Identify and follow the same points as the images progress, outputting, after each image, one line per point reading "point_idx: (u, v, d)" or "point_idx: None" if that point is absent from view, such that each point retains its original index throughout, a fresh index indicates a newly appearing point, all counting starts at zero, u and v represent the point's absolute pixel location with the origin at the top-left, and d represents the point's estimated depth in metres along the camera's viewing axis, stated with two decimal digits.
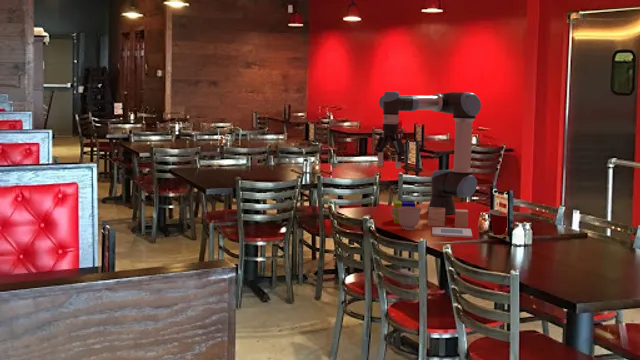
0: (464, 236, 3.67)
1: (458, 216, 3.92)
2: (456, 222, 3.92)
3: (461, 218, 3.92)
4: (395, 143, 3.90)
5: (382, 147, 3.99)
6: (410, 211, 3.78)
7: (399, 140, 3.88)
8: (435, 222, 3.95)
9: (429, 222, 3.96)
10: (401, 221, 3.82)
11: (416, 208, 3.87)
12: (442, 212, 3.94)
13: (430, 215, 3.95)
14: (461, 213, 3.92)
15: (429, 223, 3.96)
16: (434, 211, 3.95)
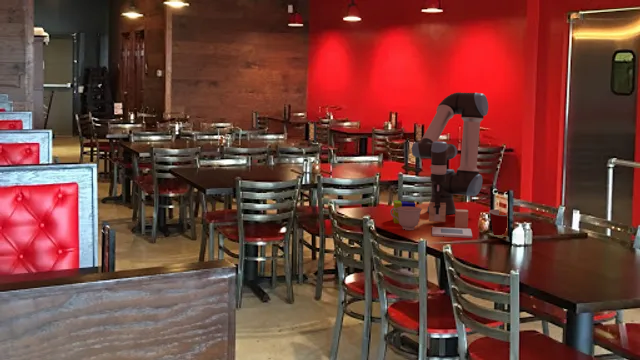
0: (464, 236, 3.67)
1: (458, 216, 3.92)
2: (456, 222, 3.92)
3: (461, 218, 3.92)
4: None
5: None
6: (410, 211, 3.78)
7: (437, 193, 3.91)
8: None
9: (430, 217, 3.96)
10: (401, 221, 3.82)
11: (416, 208, 3.87)
12: (443, 207, 3.94)
13: (431, 210, 3.95)
14: (461, 213, 3.91)
15: (430, 218, 3.96)
16: None
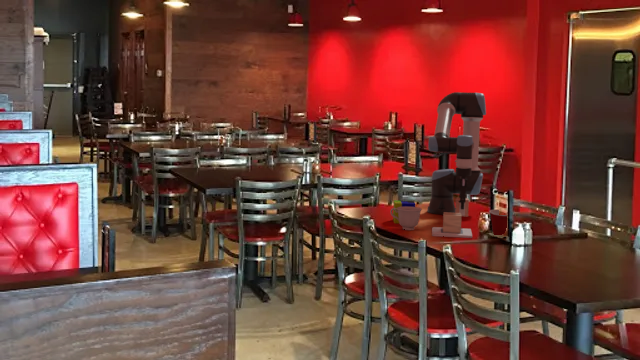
0: (464, 236, 3.67)
1: (458, 204, 3.92)
2: (457, 210, 3.92)
3: None
4: None
5: None
6: (410, 211, 3.78)
7: (462, 188, 3.87)
8: (451, 228, 3.72)
9: (444, 228, 3.73)
10: (401, 221, 3.82)
11: (416, 208, 3.87)
12: (458, 217, 3.71)
13: (445, 220, 3.72)
14: None
15: (445, 229, 3.73)
16: (449, 216, 3.72)
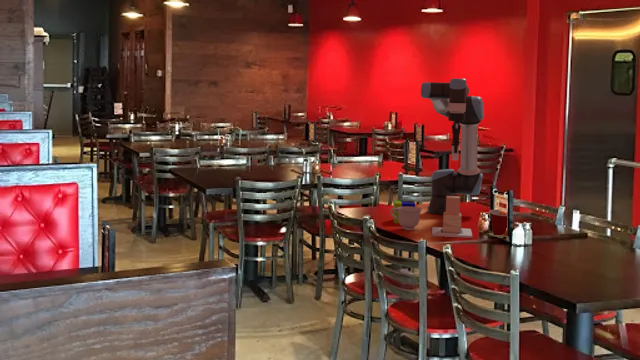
0: (464, 236, 3.67)
1: (449, 202, 3.72)
2: (447, 209, 3.73)
3: (453, 205, 3.72)
4: None
5: None
6: (410, 211, 3.78)
7: (456, 130, 3.64)
8: (451, 228, 3.72)
9: (444, 228, 3.73)
10: (401, 221, 3.82)
11: (416, 208, 3.87)
12: (458, 217, 3.71)
13: (445, 220, 3.72)
14: (452, 199, 3.72)
15: (445, 229, 3.73)
16: (449, 216, 3.72)
